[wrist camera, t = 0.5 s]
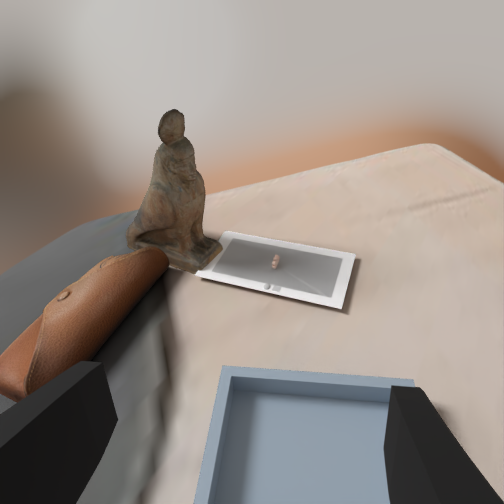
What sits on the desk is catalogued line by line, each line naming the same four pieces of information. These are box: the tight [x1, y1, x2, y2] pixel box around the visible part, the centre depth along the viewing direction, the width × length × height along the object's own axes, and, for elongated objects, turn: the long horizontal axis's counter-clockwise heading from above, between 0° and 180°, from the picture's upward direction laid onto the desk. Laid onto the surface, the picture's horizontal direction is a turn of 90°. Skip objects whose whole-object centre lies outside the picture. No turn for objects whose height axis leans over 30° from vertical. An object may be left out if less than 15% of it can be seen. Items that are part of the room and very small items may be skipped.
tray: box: [194, 365, 415, 504], centre depth 24 cm, size 11×14×2 cm
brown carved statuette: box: [126, 109, 223, 274], centre depth 38 cm, size 12×6×18 cm, turn 53°
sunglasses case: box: [0, 246, 170, 403], centre depth 35 cm, size 18×7×7 cm
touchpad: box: [194, 231, 356, 309], centre depth 39 cm, size 8×15×2 cm, turn 69°
